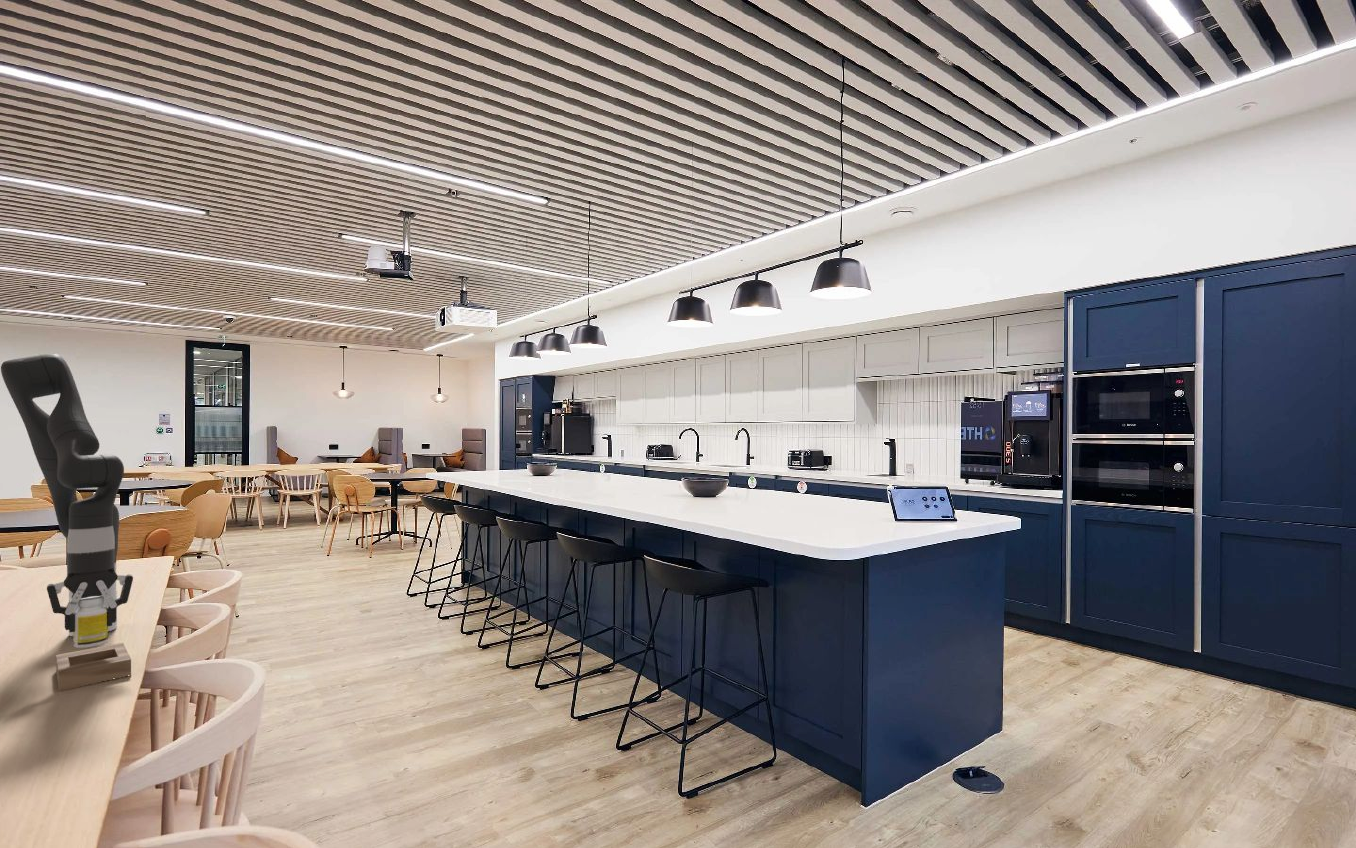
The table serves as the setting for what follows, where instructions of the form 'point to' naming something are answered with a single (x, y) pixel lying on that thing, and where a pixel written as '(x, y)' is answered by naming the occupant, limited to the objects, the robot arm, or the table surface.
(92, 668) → the well block
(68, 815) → the table surface
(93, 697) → the table surface
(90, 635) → the supplement bottle
